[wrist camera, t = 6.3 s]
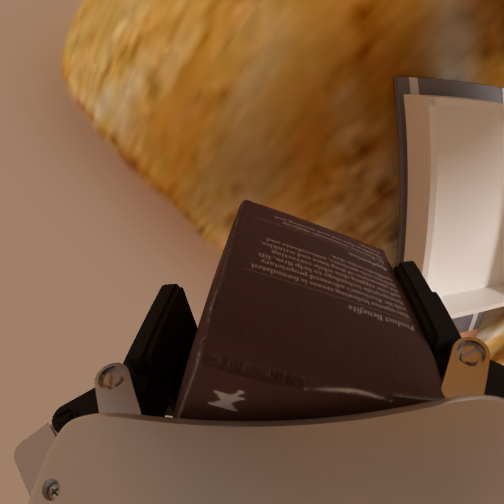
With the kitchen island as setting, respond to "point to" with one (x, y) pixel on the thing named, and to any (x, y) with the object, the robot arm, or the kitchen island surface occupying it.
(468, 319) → the rail board
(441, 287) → the white tray
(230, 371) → the box
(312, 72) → the kitchen island surface
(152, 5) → the kitchen island surface
